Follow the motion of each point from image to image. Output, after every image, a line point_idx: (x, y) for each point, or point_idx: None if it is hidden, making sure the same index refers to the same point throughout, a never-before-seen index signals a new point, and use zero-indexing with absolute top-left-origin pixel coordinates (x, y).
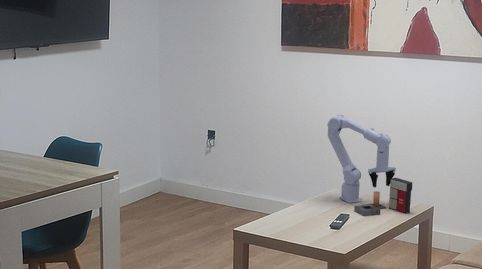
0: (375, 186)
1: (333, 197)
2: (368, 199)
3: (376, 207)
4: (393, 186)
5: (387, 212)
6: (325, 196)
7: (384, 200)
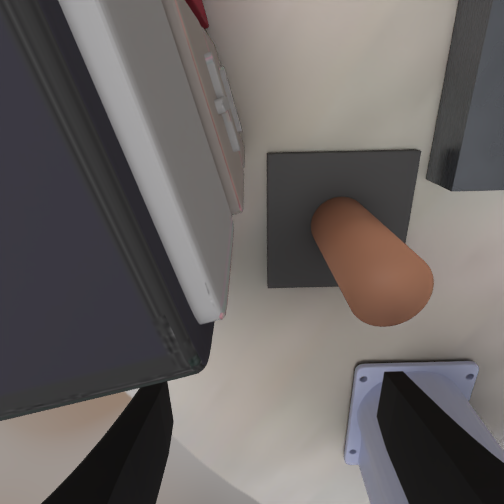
0: (407, 380)
1: None
2: (273, 397)
3: (491, 43)
4: (200, 136)
5: (341, 10)
6: None
7: None
